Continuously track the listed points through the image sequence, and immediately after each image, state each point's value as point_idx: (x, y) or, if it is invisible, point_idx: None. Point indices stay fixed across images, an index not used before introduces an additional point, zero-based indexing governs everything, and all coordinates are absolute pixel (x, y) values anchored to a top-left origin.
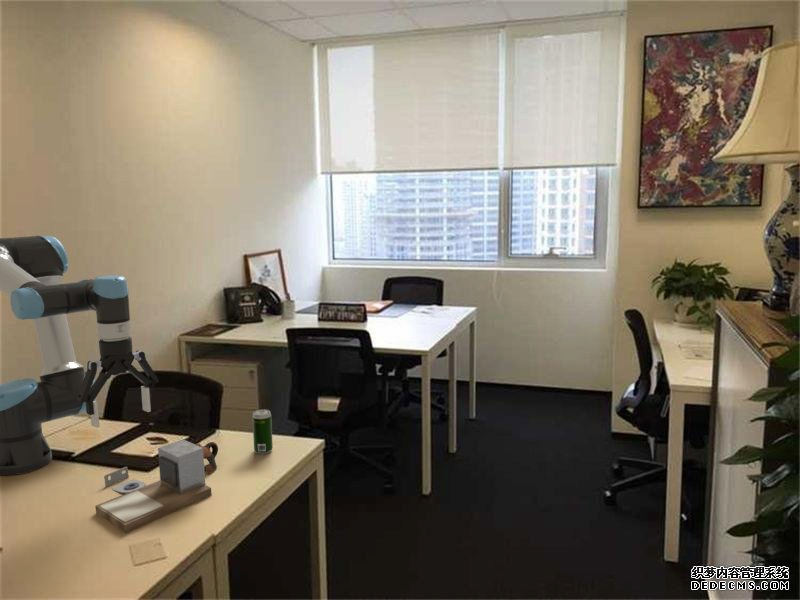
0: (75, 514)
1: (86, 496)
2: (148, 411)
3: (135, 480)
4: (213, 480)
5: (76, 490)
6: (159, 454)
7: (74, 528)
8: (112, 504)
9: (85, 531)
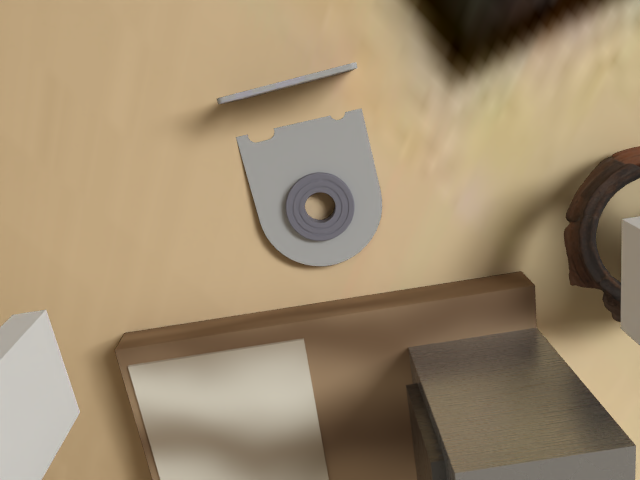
0: (50, 284)
1: (122, 143)
2: (629, 330)
3: (361, 140)
4: (611, 372)
5: (92, 36)
6: (445, 455)
7: None
8: (176, 392)
9: None
